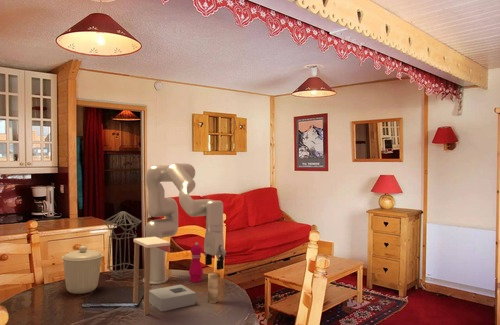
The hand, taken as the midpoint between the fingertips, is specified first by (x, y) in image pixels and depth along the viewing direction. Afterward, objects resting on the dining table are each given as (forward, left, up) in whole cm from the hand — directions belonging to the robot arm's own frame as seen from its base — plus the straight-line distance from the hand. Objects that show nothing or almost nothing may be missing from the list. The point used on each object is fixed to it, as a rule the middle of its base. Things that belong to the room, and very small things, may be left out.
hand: (214, 267), depth 175 cm
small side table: (-9, -26, -15) cm, 31 cm away
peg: (-1, 0, -15) cm, 15 cm away
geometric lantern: (-60, -21, -16) cm, 65 cm away
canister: (-47, -44, -16) cm, 66 cm away
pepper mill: (-33, +9, -16) cm, 37 cm away
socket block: (-9, -16, -15) cm, 24 cm away
